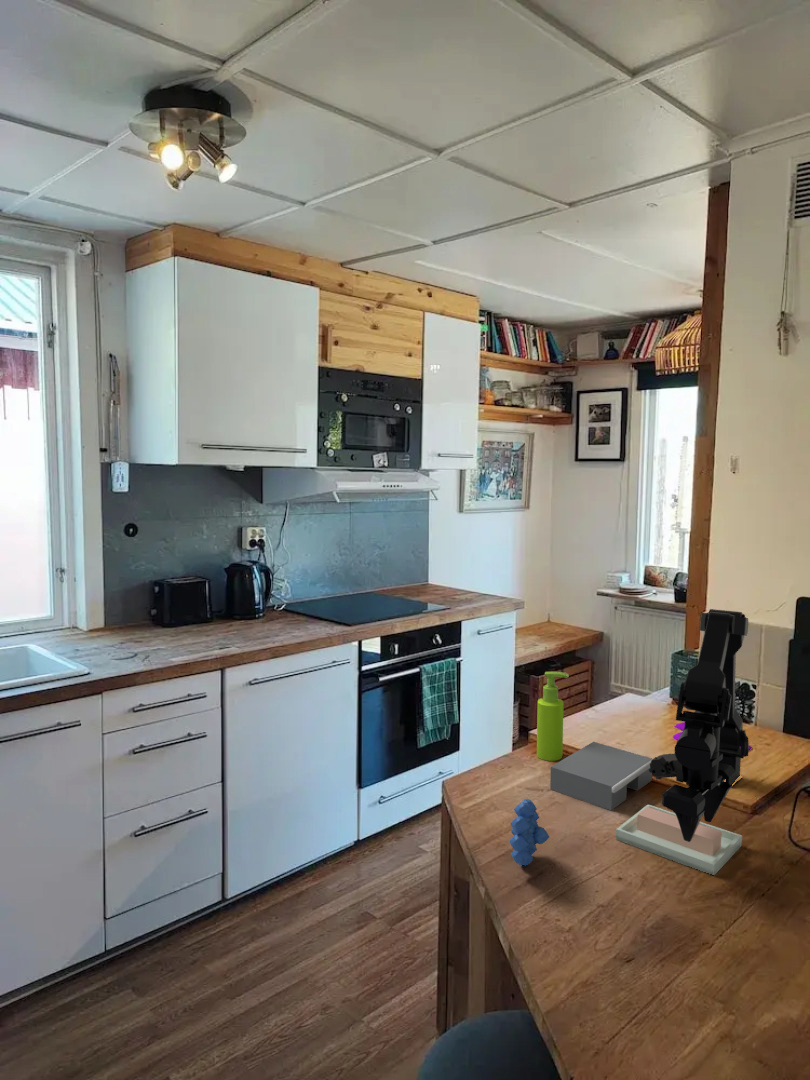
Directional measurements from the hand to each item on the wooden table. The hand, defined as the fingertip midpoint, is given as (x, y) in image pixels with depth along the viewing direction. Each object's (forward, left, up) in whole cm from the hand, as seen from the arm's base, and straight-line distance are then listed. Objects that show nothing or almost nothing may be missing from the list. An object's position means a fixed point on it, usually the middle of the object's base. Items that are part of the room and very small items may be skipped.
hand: (697, 830), depth 140 cm
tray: (+3, 0, -4) cm, 5 cm away
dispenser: (+25, -12, -4) cm, 28 cm away
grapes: (+19, +25, -4) cm, 32 cm away
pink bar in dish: (+3, 0, -3) cm, 4 cm away
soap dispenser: (+41, -18, -4) cm, 45 cm away
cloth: (+18, -54, -4) cm, 57 cm away
